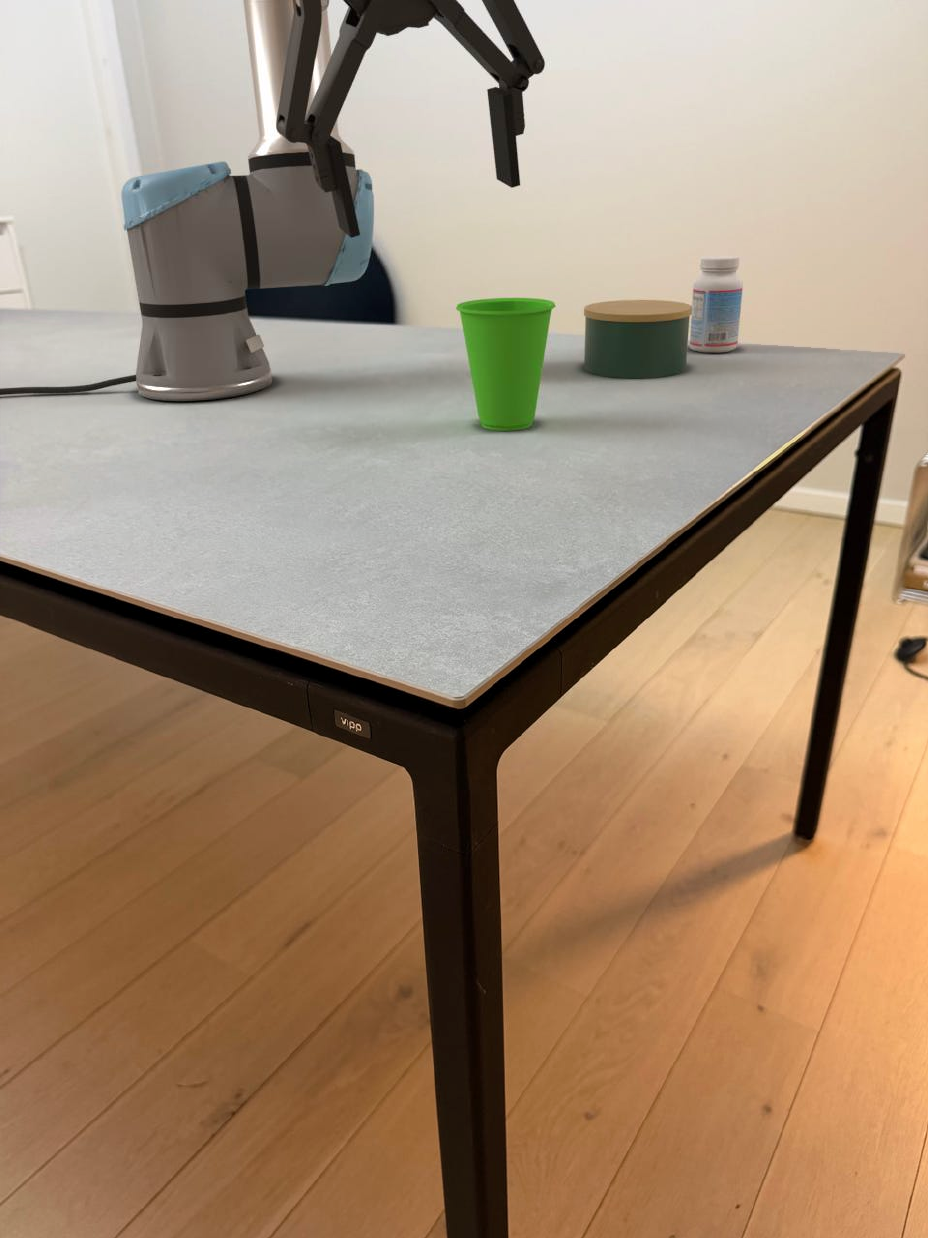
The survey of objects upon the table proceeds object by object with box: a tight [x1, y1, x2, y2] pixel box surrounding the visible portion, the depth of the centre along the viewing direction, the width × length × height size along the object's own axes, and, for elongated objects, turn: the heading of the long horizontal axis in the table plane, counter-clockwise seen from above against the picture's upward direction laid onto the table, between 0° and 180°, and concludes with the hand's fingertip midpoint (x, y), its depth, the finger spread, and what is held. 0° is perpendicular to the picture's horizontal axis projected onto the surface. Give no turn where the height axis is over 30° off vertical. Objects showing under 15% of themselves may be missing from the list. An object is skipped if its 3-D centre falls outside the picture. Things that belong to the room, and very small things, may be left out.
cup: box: [455, 297, 557, 432], centre depth 86 cm, size 9×9×11 cm
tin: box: [583, 299, 692, 379], centre depth 109 cm, size 12×12×7 cm
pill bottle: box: [689, 254, 744, 354], centre depth 117 cm, size 6×6×11 cm
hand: (430, 206), depth 71 cm, fingers open, 13 cm apart
